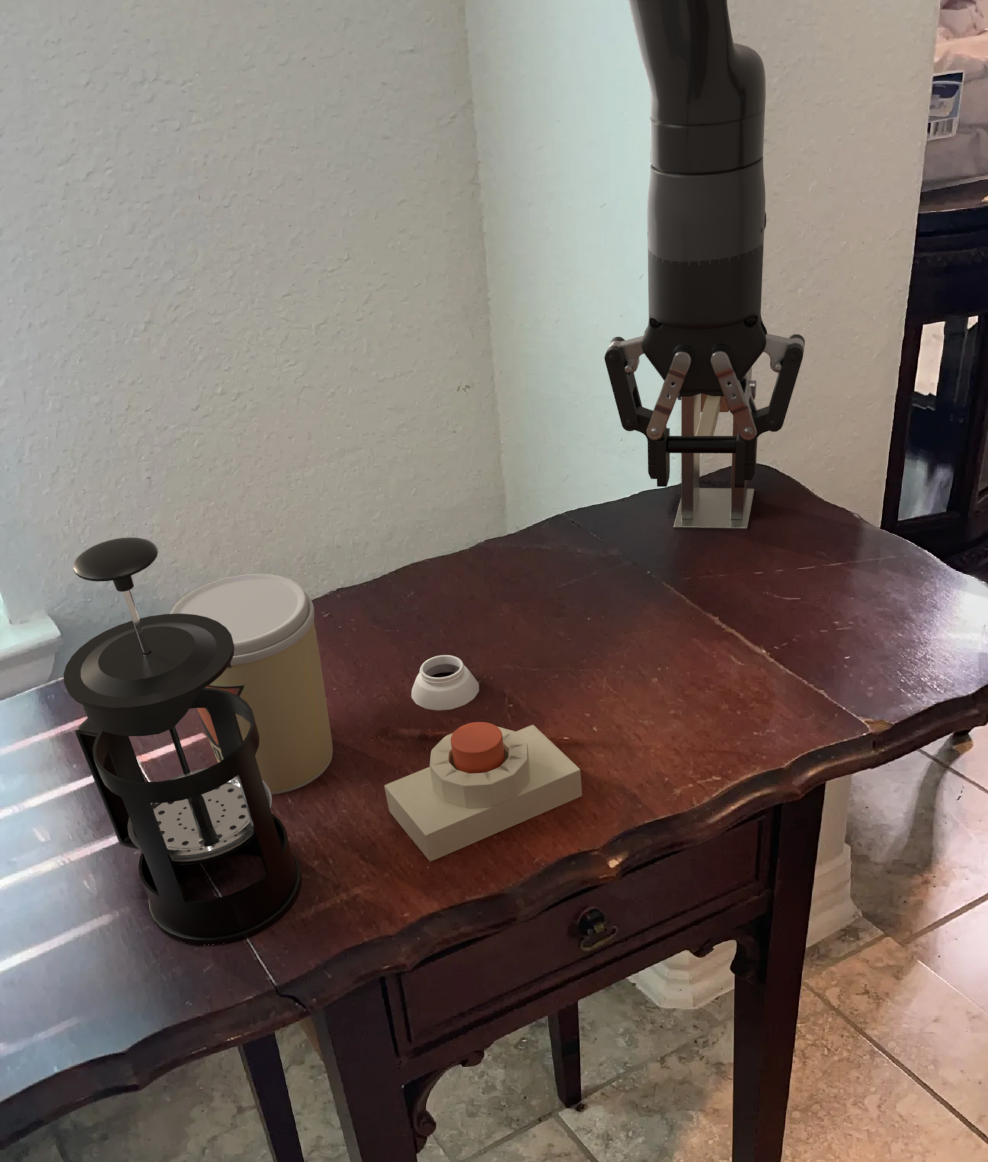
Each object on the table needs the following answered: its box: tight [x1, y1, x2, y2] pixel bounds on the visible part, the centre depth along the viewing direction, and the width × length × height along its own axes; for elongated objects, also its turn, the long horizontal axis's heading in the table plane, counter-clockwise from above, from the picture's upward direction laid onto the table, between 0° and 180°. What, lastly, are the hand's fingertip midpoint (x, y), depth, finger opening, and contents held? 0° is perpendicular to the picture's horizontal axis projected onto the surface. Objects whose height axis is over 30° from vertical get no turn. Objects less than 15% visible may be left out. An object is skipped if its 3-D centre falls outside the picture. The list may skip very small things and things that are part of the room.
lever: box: [667, 394, 737, 454], centre depth 96 cm, size 12×5×2 cm, turn 167°
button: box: [451, 721, 505, 774], centre depth 78 cm, size 3×3×2 cm
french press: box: [63, 536, 303, 946], centre depth 70 cm, size 12×9×23 cm
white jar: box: [410, 654, 480, 711], centre depth 90 cm, size 5×3×5 cm
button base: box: [383, 724, 583, 862], centre depth 80 cm, size 11×6×4 cm, turn 119°
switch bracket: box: [672, 366, 757, 531], centre depth 102 cm, size 7×6×13 cm
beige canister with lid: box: [169, 573, 334, 796], centre depth 83 cm, size 9×9×12 cm
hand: (702, 481), depth 94 cm, fingers closed on lever, 5 cm apart
